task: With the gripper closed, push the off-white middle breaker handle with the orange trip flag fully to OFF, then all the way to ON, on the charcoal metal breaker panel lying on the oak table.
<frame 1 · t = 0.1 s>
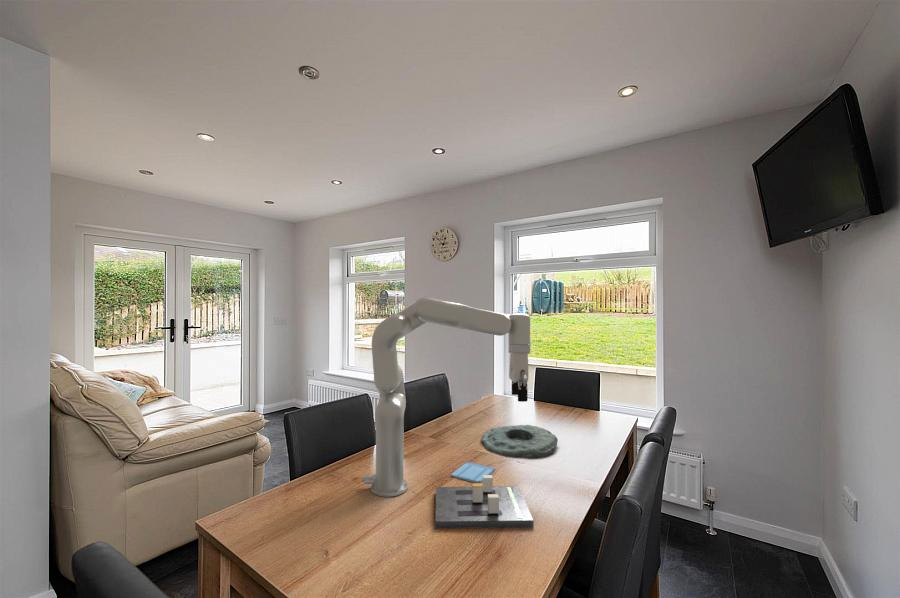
hand: (519, 397, 137), 31 cm above the table, fingers open, 9 cm apart
breaker panel: (480, 508, 122), on the table
light blue flat plate: (473, 474, 148), on the table
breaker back: (487, 483, 128), point 5 cm above the table, slide at 8.0 cm
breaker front: (493, 503, 115), point 5 cm above the table, slide at 8.0 cm
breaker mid: (477, 492, 122), point 5 cm above the table, slide at 4.0 cm
stone ring: (518, 444, 180), on the table
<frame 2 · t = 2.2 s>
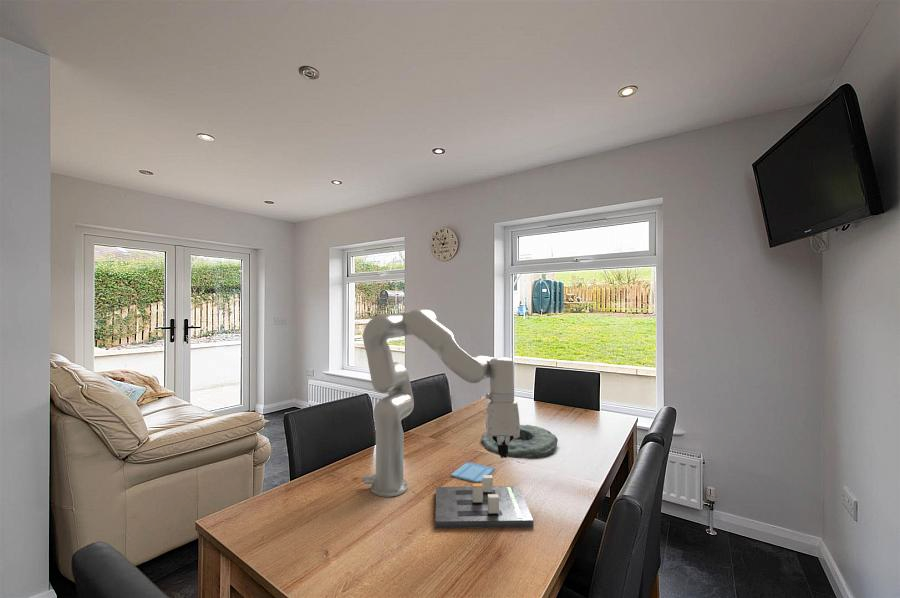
hand: (502, 456, 122), 16 cm above the table, fingers closed
nothing on the table moved.
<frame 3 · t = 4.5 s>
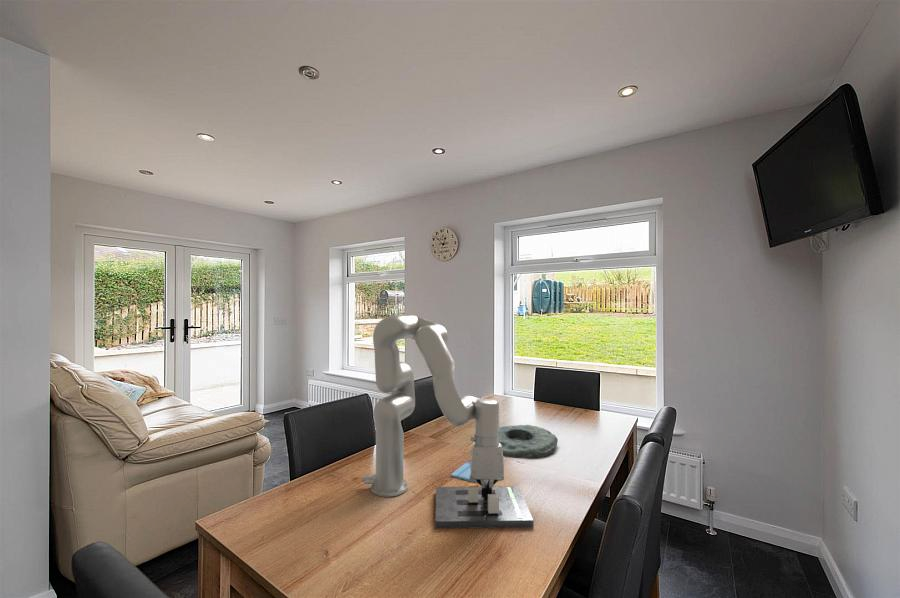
hand: (486, 498, 122), 3 cm above the table, fingers closed
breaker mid: (473, 492, 122), point 5 cm above the table, slide at 2.6 cm, touching gripper
everything else where it was.
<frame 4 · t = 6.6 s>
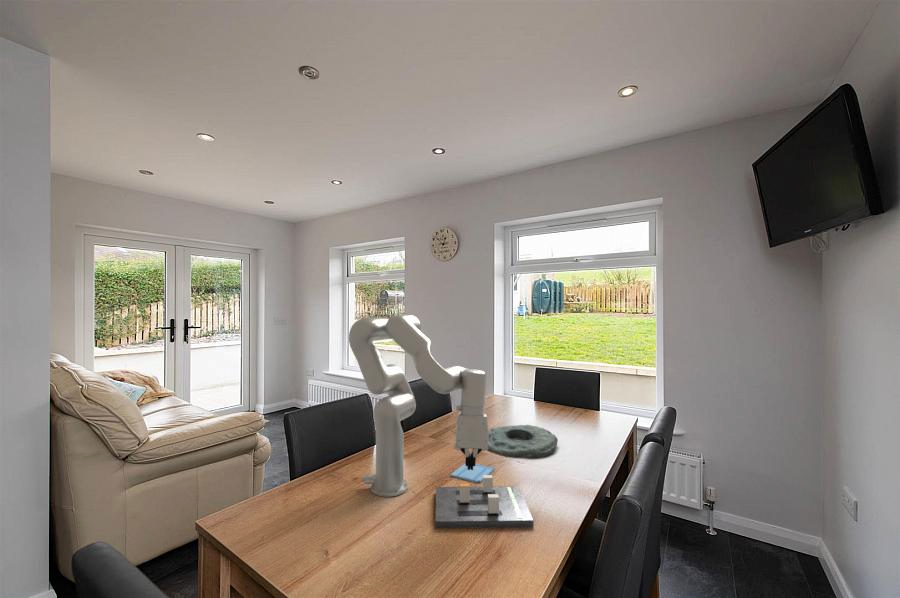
hand: (470, 468, 122), 12 cm above the table, fingers closed
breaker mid: (464, 492, 122), point 5 cm above the table, slide at -0.1 cm
everything else where it was.
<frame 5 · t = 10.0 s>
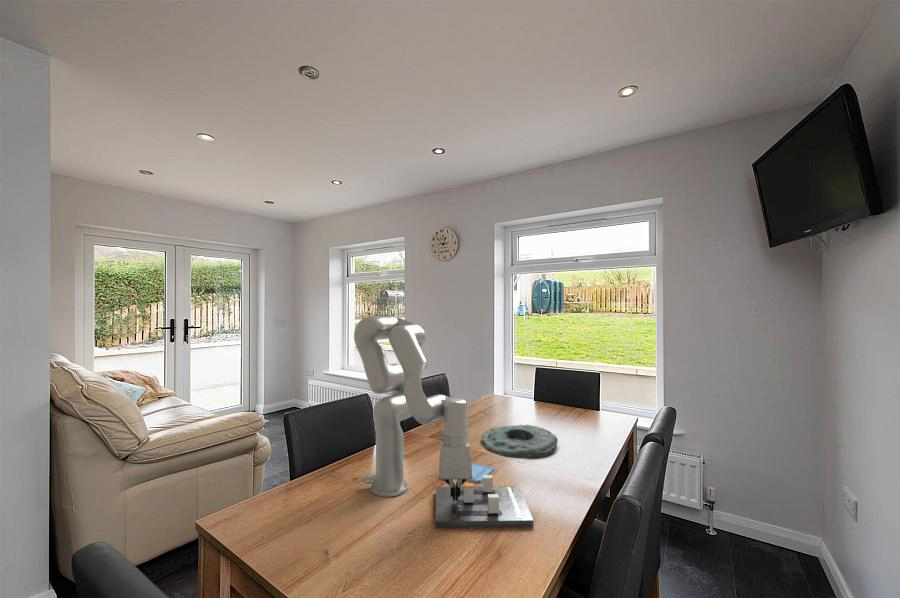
hand: (455, 498, 121), 3 cm above the table, fingers closed
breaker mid: (468, 492, 122), point 5 cm above the table, slide at 1.2 cm, touching gripper
everything else where it was.
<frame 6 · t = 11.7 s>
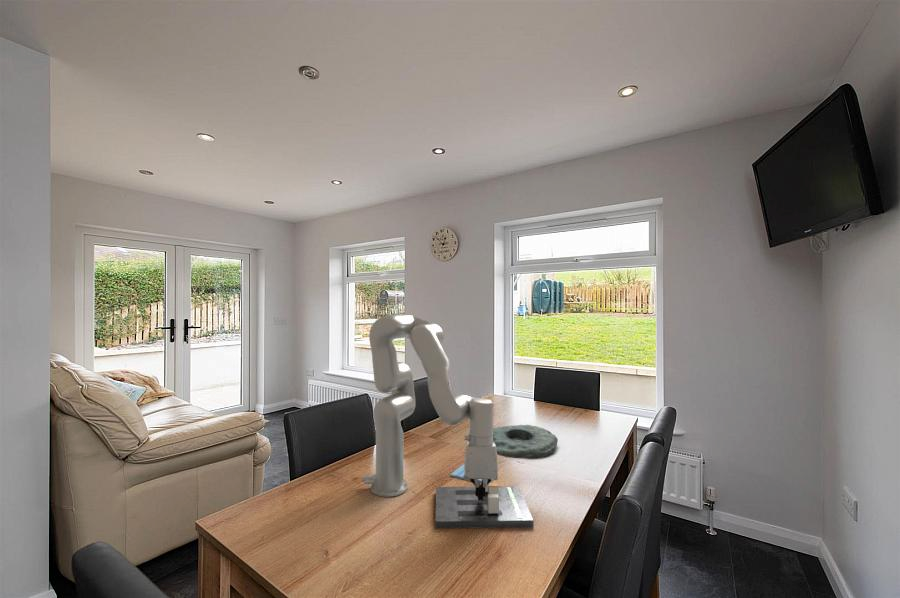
hand: (480, 498, 122), 3 cm above the table, fingers closed
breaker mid: (493, 492, 122), point 5 cm above the table, slide at 9.0 cm, touching gripper
everything else where it was.
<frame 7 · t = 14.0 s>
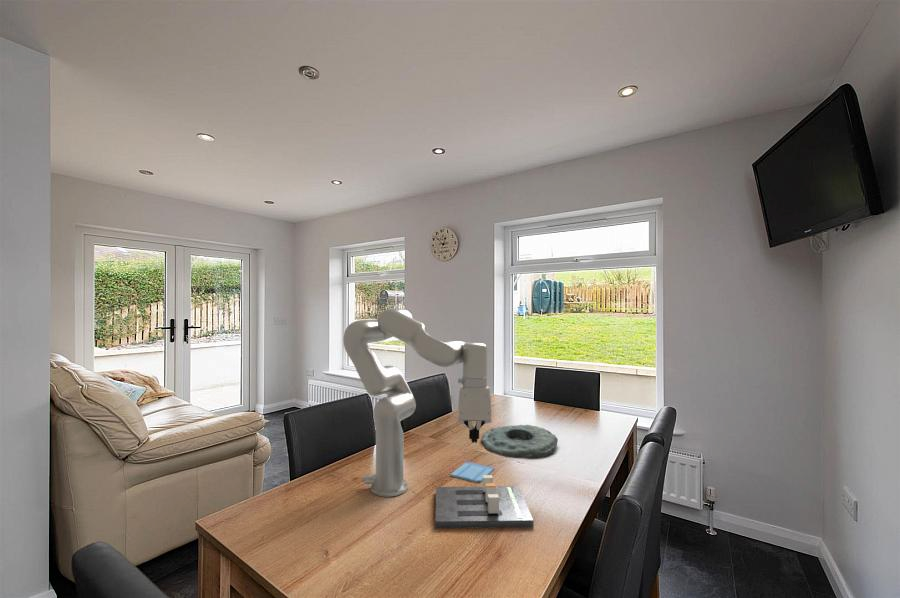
hand: (474, 441, 122), 21 cm above the table, fingers closed
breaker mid: (490, 492, 122), point 5 cm above the table, slide at 8.1 cm
everything else where it was.
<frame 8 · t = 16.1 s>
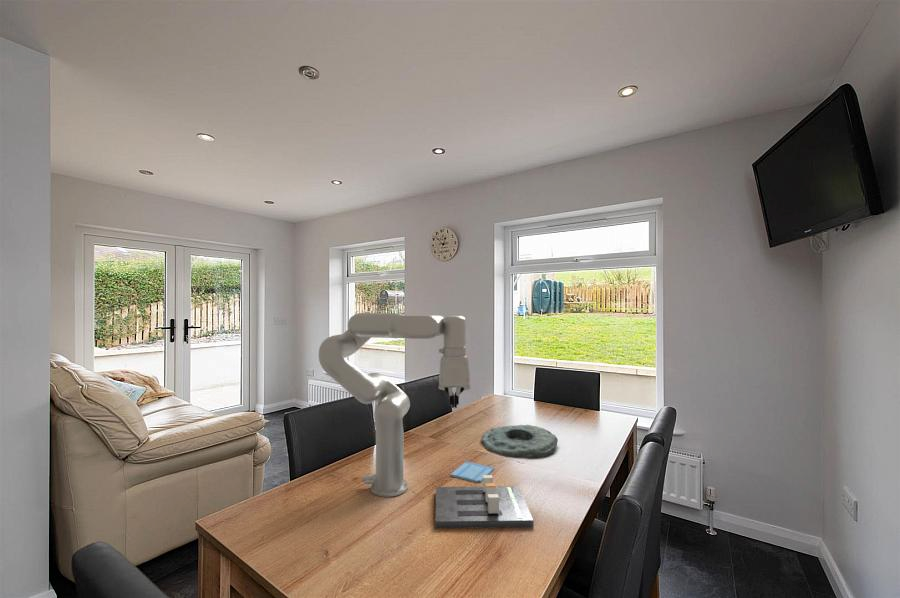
hand: (454, 406, 132), 29 cm above the table, fingers closed
nothing on the table moved.
at the end: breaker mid slide at 8.1 cm; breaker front slide at 8.0 cm; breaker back slide at 8.0 cm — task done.
